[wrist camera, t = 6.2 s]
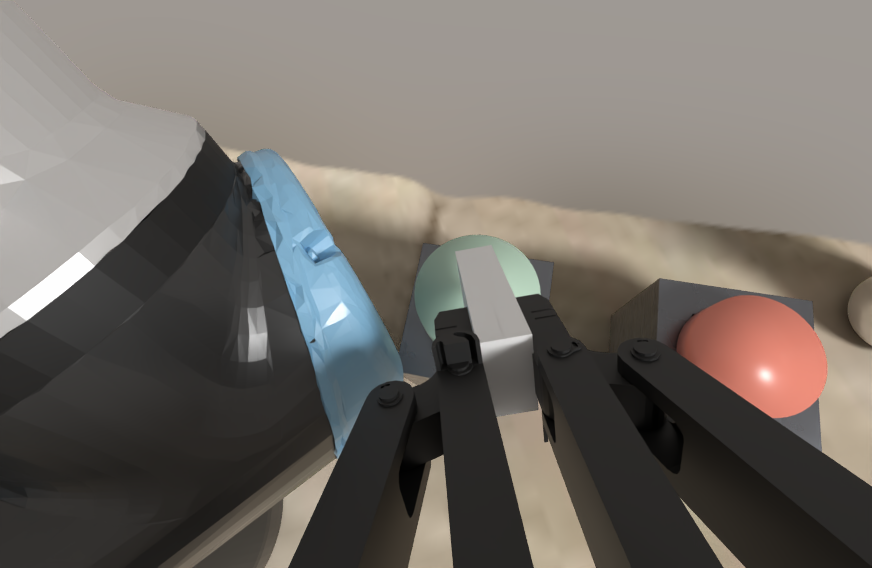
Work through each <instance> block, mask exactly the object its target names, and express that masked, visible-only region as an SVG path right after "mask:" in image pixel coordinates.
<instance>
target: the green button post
mask: <svg viewBox="0 0 872 568" xmlns="http://www.w3.org/2000/svg"><path fill="white" fill-rule="evenodd" d="M439 247H440V245H433V244H427V243H423V246H422V251H421V256H420V260H419V265H418V269H417V274H416V278H415V283H416V280H417V276H418V273H419V271H420V269H421V267H422V265H423V264H424V262H425V261H426V259H427V258H428V257H429V256H430V255H431V254H432V253H433V252H434V251H435V250H436V249H437V248H439ZM528 260H529V261H530V263H531V264H532V266H533V268H534V270H535V271H536V274H537V277H538V280H539V284H540V293H541V296H543V297H545V298H546V299H548V300H549V298H550V289H551V281H552V273H553V265H554V262H547V261H540V260H534V259H528ZM415 283H414V287H413V292H412V296H411V301H410V305H409V310H408V314H407V319H406V323H405V328H404V332H403V337H402V341H401V346H400V350H399V356H400V359H401V362H402V366H403V377H405V378H407V379H408V380H410V381H411V382H413V383H415V384H417V385H420V384H422V383H424V382H426V381H427V380H428V379H430V378H431V377H432V376H433V375H434V374H435V372H436V366H435V362H434V357H433V352H432V348H431V347H432V343H433V341H432V339H431V338H430V337H429V335H428V334H427V332H426V330H425V328H424V326H423V325H422V323H421V321H420V319H419V316H418V314H417V310H416V306H415V299H414V290H415Z"/></svg>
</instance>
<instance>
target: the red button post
mask: <svg viewBox="0 0 872 568" xmlns="http://www.w3.org/2000/svg"><path fill="white" fill-rule="evenodd" d="M741 295H753V296H761V297H766V298H769V299H772V300H775V301H777V302H780V303H782V304H784V305H786V306H787V307H789V308H791V309H792V310H794V311H795V312H796V313H798V314H799V315H800V316H801V317H802V318H803V319H805V320H806V322H807V323H808V324H809V325H810V326H811V327H812V329H813V330H814V319H813V303H812V301H808V300H801V299H794V298H788V297H781V296H774V295H768V294H761V293H754V292H748V291H741V290H734V289H727V288H721V287H714V286H707V285H701V284H694V283H687V282H681V281H674V280H667V279H661V278H659V279H658V280H657V281H655V282H654V283H653V284H652V285H650V286H649V287H648V288H646V289H645V290H644V291H642V292H641V293H640V294H639V295H637V296H636V297H635V298H633V299H632V300H631V301H630V302H628V303H627V304H626V305H624V306H623V307H622V308H620V309H619V310H618V311H617V312H615V313H614V314H613V315H612V318H611V330H610V343H609V353H617V349H618V347H619V346H620V344H621V343H623V342H624V341H626V340H629V339H634V338H648V339H652V340H657V341H659V342H661V343H663V344H665V345H667V346H668V347H670V348H671V349H673V350H674V351H676V348H677V341H678V337H679V334H680V332H681V330H682V328H683V326H684V325H685V323H686V322H687V321H688V320H689V319H690V318H691V317H692V316H693V315H695V314H696V313H698V312H700V311H701V310H703V309H706V308H708V307H710V306H712V305H714V304H716V303H718V302H720V301H722V300H725V299H727V298H730V297H734V296H741ZM773 419H774V420H776V421H777V422H779V423H780V424H782V425H783V426H785V427H786V428H788V429H789V430H790V431H792V432H793V433H795V434H796V435H798V436H799V437H801V438H802V439H804V440H805V441H806V442H808V443H809V444H811V445H812V446H814V447H815V448H817V449H818V450H820V451H821V452H822V447H821V431H820V415H819V399H817V400H816V401H815V402H814V403H813V404H812V405H811V406H810V407H809V408H807V409H806V410H804V411H802V412H800V413H798V414H796V415H792V416H789V417H783V418H773Z"/></svg>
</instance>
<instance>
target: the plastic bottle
mask: <svg viewBox="0 0 872 568" xmlns="http://www.w3.org/2000/svg"><path fill="white" fill-rule="evenodd" d="M847 310H848V318H849V321H850V323H851V325H852V327H853V329H854V330H855V332H856V333H857V334H858V335H859V336H860V337H861V338H862V339H863V340H864V341H865V342H867V343H868V344H869V345H871V346H872V276H871V277H870V278H868V279H866V280H864V281H863V282H862V283H860V284H859V285H858V286H857V287H856V288H855V289H854V290H853V292H852V294H851V296H850V299H849V303H848V308H847Z"/></svg>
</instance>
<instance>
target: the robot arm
mask: <svg viewBox="0 0 872 568" xmlns="http://www.w3.org/2000/svg"><path fill="white" fill-rule="evenodd" d="M237 161H238V162H236V163H234V162H233V161H231V160H230V159H229V158H228V156H227V155H226V154H225V153H224V152H223V150H222V149H221V148H220V147H219V146H218V145H217V143H216V142H215V141H214V140H213V139H212V137H211V136H210V135H209V134H208V133H207V132H206V130H205V129H204V128H203V127H202V126H201V125H200V123H199V122H198V121H197V120H196V119H195V118H193V117H191V116H189V115H185V114H181V113H176V112H172V111H167V110H163V109H158V108H154V107H149V106H145V105H140V104H136V103H131V102H126V101H122V100H118V99H116V98H114V97H113V96H111V95H110V94H108V93H107V92H105V91H104V90H102V89H100V88H99V87H98V86H96V85H95V84H94V83H93V82H92V81H91V80H90V79H89V78H88V77H87V76H86V75H85V74H84V73H83V72H82V71H81V70H80V69H79V68H78V67H77V66H76V65H75V64H74V62H72V60H71V59H70V58H69V57H67V55H66V54H65V53H64V52H63V51H62V50H61V49H60V48H59V47H58V46H57V45H56V44H55V43H54V42H53V41H52V40H51V39H50V38H49V37H48V36H47V35H46V33H45V32H44V31H43V30H42V29H41V28H40V27H39V26H38V25H37V24H36V23H35V22H34V21H33V20H32V19H31V18H30V17H29V16H28V15H27V14H26V13H25V11H24V10H23V9H21V7H20V6H19V5H18V4H17V3H16V2H15V1H14V0H0V568H265V566H266V564H267V562H268V560H269V558H270V555H271V553H272V551H273V548H274V546H275V543H276V540H277V536H278V533H279V529H280V524H281V518H282V510H283V498H284V497H286V496H287V495H288V494H289V493H291V492H292V491H293V490H295V489H296V488H297V487H299V486H300V485H301V484H303V483H304V482H305V481H307V480H308V479H309V478H310V477H312V476H313V475H314V474H316V473H317V472H318V471H320V470H321V469H322V468H324V467H325V466H326V465H327V464H329V463H330V462H331V461H333V460H334V459H335V458H336V459H338V461H337V463H336V465H335V467H334V469H333V471H332V474H331V476H330V478H329V480H328V482H327V485H326V487H325V489H324V491H323V493H322V495H321V498H320V500H319V502H318V504H317V506H316V508H315V511H314V513H313V515H312V517H311V519H310V522H309V524H308V526H307V528H306V530H305V532H304V535H303V537H302V539H301V541H300V543H299V546H298V548H297V550H296V552H295V554H294V556H293V559H292V561H291V563H290V565H289V567H288V568H408V564H409V560H410V555H411V551H412V547H413V542H414V538H415V533H416V529H417V525H418V520H419V516H420V512H421V507H422V503H423V498H424V494H425V490H426V485H427V481H428V477H429V472H430V468H431V460H433V459H435V458H437V457H439V456H441V455H443V454H444V464H445V476H446V487H447V499H448V511H449V522H450V534H451V546H452V557H453V568H534V567H533V563H532V559H531V555H530V551H529V547H528V543H527V539H526V535H525V531H524V527H523V523H522V519H521V515H520V511H519V507H518V502H517V498H516V494H515V490H514V486H513V482H512V478H511V474H510V470H509V466H508V462H507V458H506V454H505V450H504V446H503V442H502V438H501V434H500V430H499V426H498V422H497V418H496V417H498V416H504V415H510V414H516V413H522V412H528V411H534V410H538V401H539V403H540V406H541V408H542V419H543V432H544V442H548V438H549V441H550V444H551V446H552V449H553V452H554V455H555V457H556V460H557V463H558V465H559V468H560V471H561V474H562V476H563V479H564V482H565V484H566V487H567V490H568V493H569V495H570V498H571V501H572V503H573V506H574V509H575V512H576V514H577V517H578V520H579V522H580V525H581V528H582V531H583V533H584V536H585V539H586V542H587V544H588V547H589V550H590V552H591V555H592V558H593V561H594V563H595V566H596V568H723V566H722V565H721V563H720V561H719V560H718V558H717V557H716V555H715V553H714V552H713V550H712V549H711V547H710V545H709V544H708V542H707V541H706V539H705V537H704V536H703V534H702V533H701V531H700V529H699V528H698V526H697V525H696V523H695V521H694V520H693V518H692V517H691V515H690V513H689V512H688V510H687V509H686V507H685V505H684V504H683V502H682V501H681V499H682V500H683V501H684V502H685V503H686V504H687V506H688V507H689V508H690V509H691V510H692V511H693V512H694V513H695V514H696V515H697V516H698V517H699V518H700V519H701V520H702V521H703V523H704V524H705V525H706V526H707V527H708V528H709V529H710V530H711V531H712V532H713V533H714V534H715V535H716V536H717V537H718V539H719V540H720V541H721V542H722V543H723V544H724V545H725V546H726V547H727V548H728V549H729V550H730V551H731V552H732V553H733V554H734V556H735V557H736V558H737V559H738V560H739V561H740V562H741V563H742V564H743V565H744V566H745V567H746V568H872V486H870V485H869V484H867V483H866V482H865V481H863V480H862V479H860V478H859V477H857V476H856V475H854V474H853V473H851V472H850V471H849V470H847V469H846V468H844V467H843V466H841V465H840V464H838V463H837V462H836V461H834V460H833V459H831V458H830V457H828V456H827V455H825V454H824V453H822V452H821V451H820V450H818V449H817V448H815V447H814V446H812V445H811V444H809V443H808V442H806V441H805V440H804V439H802V438H801V437H799V436H798V435H796V434H795V433H793V432H792V431H790V430H789V429H788V428H786V427H785V426H783V425H782V424H780V423H779V422H777V421H776V420H774V419H773V418H772V417H770V416H769V415H767V414H766V413H764V412H763V411H761V410H760V409H758V408H757V407H756V406H754V405H753V404H751V403H750V402H748V401H747V400H745V399H744V398H742V397H741V396H740V395H738V394H737V393H735V392H734V391H732V390H731V389H729V388H728V387H726V386H725V385H724V384H722V383H721V382H719V381H718V380H716V379H715V378H713V377H712V376H710V375H709V374H708V373H706V372H705V371H703V370H702V369H700V368H699V367H697V366H696V365H694V364H693V363H692V362H690V361H689V360H687V359H686V358H684V357H683V356H681V355H680V354H678V353H677V352H676V351H674V350H673V349H671V348H670V347H668V346H667V345H665V344H663V343H661V342H659V341H657V340H652V339H648V338H634V339H629V340H626V341H624V342H623V343H621V344H620V346H619V347H618V349H617V353H604V352H594V351H590V350H587V349H586V347H585V346H584V345H583V344H582V343H581V342H580V341H579V340H577V339H574V338H572V337H570V335H569V333H568V332H567V330H566V328H565V327H564V325H563V323H562V322H561V320H560V318H559V317H558V316H557V313H556V312H555V310H554V309H553V307H552V305H551V303H550V302H549V300H548V299H546V298H545V297H543V296H541V295H540V294H533V295H527V296H521V297H515V296H514V293H513V291H512V289H511V287H510V285H509V282H508V280H507V278H506V276H505V274H504V271H503V269H502V267H501V265H500V263H499V261H498V258H497V256H496V254H495V252H494V250H493V247H492V245H488V246H483V247H477V248H471V249H466V250H460V251H455V254H456V260H457V266H458V272H459V278H460V285H461V291H462V297H463V303H464V308H458V309H453V310H447V311H441V312H439V313H438V315H437V316H436V318H435V320H434V325H435V336H436V339H435V340H434V341H433V343H432V347H431V348H432V352H433V357H434V362H435V366H436V372H435V374H434V375H433V376H432V377H431V378H430V379H428V380H427V381H426V382H424V383H422V384H420V385H417V386H415V387H413V388H412V387H411V385H410V384H408V383H406V382H404V381H403V366H402V362H401V359H400V356H399V353H398V351H397V349H396V347H395V345H394V343H393V341H392V339H391V337H390V335H389V333H388V331H387V329H386V327H385V325H384V323H383V321H382V320H381V318H380V316H379V314H378V312H377V310H376V309H375V307H374V305H373V303H372V302H371V300H370V298H369V296H368V295H367V293H366V291H365V289H364V288H363V286H362V284H361V282H360V281H359V279H358V277H357V276H356V274H355V272H354V271H353V269H352V267H351V266H350V264H349V262H348V261H347V259H346V257H345V256H344V254H343V253H342V252H341V250H340V249H339V248H338V247H337V246H336V245H335V244H334V241H333V237H332V235H331V234H330V232H329V230H328V229H327V227H326V226H325V224H324V223H323V221H322V219H321V217H320V215H319V213H318V211H317V209H316V208H315V206H314V204H313V203H312V201H311V200H310V198H309V196H308V195H307V193H306V192H305V190H304V189H303V187H302V186H301V184H300V183H299V181H298V179H297V178H296V176H295V175H294V174H293V172H292V171H291V169H290V168H289V166H288V165H287V164H286V162H285V161H284V160H283V159H282V158H281V157H280V156H279V154H278V153H276V152H275V151H273V150H271V149H261V150H258V151H256V152H251V151H245V152H244V153H243V154H241V155H240V156H239V157H237ZM537 398H538V399H537ZM680 498H681V499H680Z"/></svg>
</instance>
